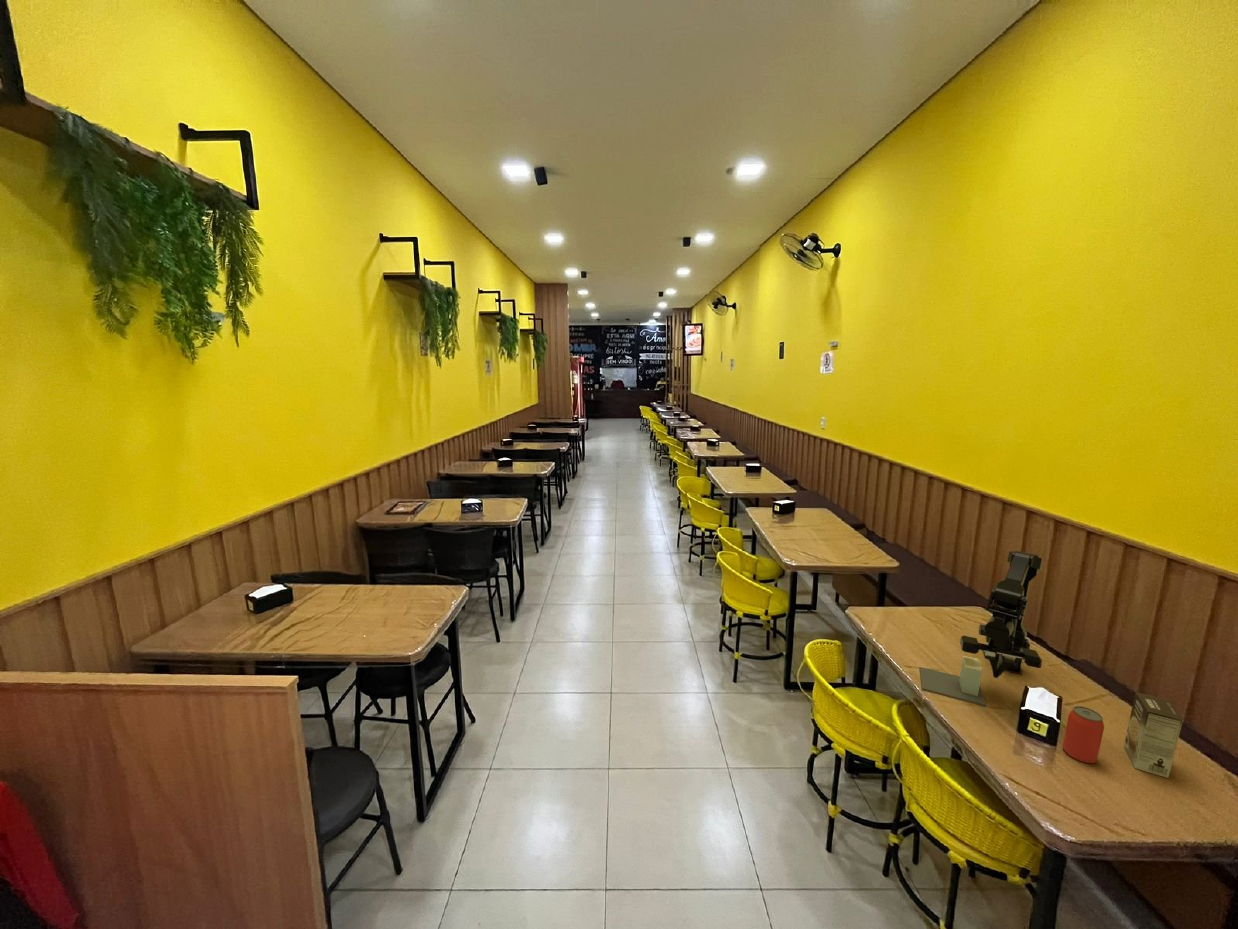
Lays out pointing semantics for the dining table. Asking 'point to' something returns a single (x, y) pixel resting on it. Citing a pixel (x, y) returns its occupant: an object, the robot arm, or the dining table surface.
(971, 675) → the pale green block
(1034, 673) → the dining table surface
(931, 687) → the mat
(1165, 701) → the coffee box
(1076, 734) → the beer can
